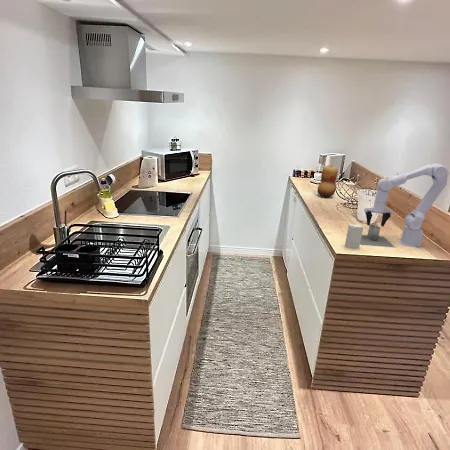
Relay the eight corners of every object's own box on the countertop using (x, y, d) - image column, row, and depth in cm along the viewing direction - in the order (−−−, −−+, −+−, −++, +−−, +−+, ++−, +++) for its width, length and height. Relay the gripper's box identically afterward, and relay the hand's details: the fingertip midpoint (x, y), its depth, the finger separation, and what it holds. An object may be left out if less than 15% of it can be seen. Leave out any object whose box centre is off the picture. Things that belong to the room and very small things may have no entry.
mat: (383, 237, 197) (383, 236, 196) (395, 248, 181) (395, 247, 181) (351, 234, 197) (351, 234, 197) (360, 245, 182) (360, 244, 181)
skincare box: (355, 246, 180) (359, 224, 176) (359, 249, 176) (364, 227, 172) (344, 245, 180) (348, 223, 176) (347, 249, 175) (352, 226, 171)
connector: (373, 236, 196) (376, 221, 193) (378, 241, 188) (382, 226, 185) (366, 235, 196) (369, 221, 193) (371, 240, 188) (374, 226, 185)
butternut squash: (321, 199, 270) (326, 167, 262) (313, 194, 282) (318, 164, 274) (337, 199, 273) (343, 167, 265) (329, 194, 286) (334, 164, 277)
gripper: (391, 200, 188) (385, 224, 193) (364, 198, 189) (359, 222, 193) (396, 204, 182) (390, 228, 186) (368, 201, 182) (363, 226, 186)
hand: (375, 225), depth 189 cm, fingers open, 7 cm apart
